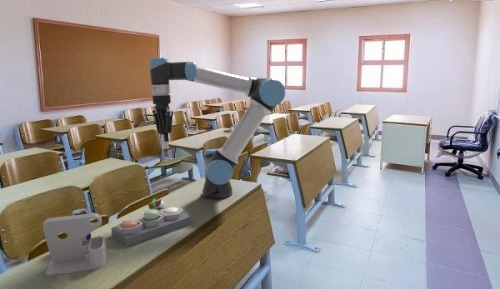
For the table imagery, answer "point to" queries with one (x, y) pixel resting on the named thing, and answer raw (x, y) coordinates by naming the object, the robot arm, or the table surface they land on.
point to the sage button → (151, 215)
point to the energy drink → (85, 211)
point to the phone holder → (73, 244)
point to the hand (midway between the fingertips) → (165, 148)
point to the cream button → (171, 210)
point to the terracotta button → (129, 224)
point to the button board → (150, 227)
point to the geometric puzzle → (157, 205)
